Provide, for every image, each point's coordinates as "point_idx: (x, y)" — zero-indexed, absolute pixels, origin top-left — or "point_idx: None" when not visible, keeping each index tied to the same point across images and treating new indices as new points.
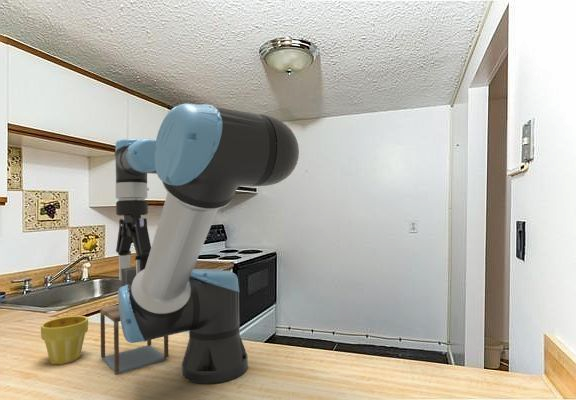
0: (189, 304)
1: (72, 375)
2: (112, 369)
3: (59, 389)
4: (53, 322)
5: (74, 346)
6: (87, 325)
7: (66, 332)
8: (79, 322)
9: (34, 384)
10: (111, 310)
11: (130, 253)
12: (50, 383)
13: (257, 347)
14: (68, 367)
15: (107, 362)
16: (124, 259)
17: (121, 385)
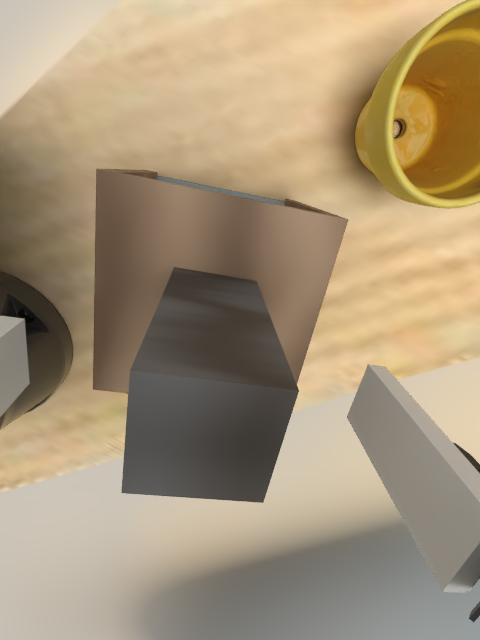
0: None
1: (249, 86)
2: (188, 182)
3: (178, 8)
4: None
5: (364, 135)
6: (395, 191)
7: (384, 84)
8: (465, 190)
9: None
10: (255, 230)
11: (476, 615)
12: (246, 9)
13: (44, 456)
14: (320, 107)
15: (238, 193)
16: (442, 512)
17: (68, 146)
